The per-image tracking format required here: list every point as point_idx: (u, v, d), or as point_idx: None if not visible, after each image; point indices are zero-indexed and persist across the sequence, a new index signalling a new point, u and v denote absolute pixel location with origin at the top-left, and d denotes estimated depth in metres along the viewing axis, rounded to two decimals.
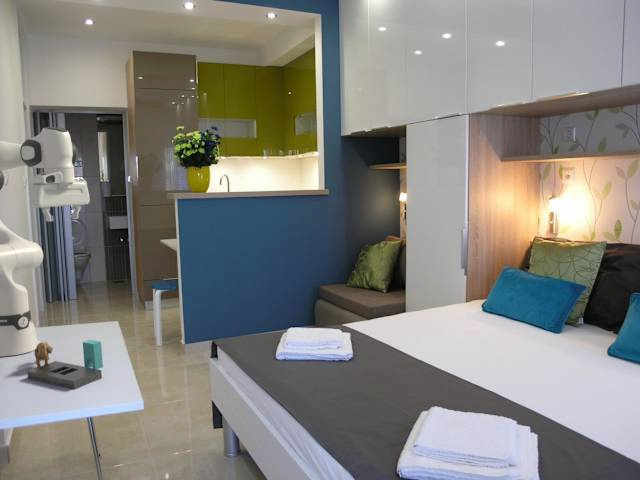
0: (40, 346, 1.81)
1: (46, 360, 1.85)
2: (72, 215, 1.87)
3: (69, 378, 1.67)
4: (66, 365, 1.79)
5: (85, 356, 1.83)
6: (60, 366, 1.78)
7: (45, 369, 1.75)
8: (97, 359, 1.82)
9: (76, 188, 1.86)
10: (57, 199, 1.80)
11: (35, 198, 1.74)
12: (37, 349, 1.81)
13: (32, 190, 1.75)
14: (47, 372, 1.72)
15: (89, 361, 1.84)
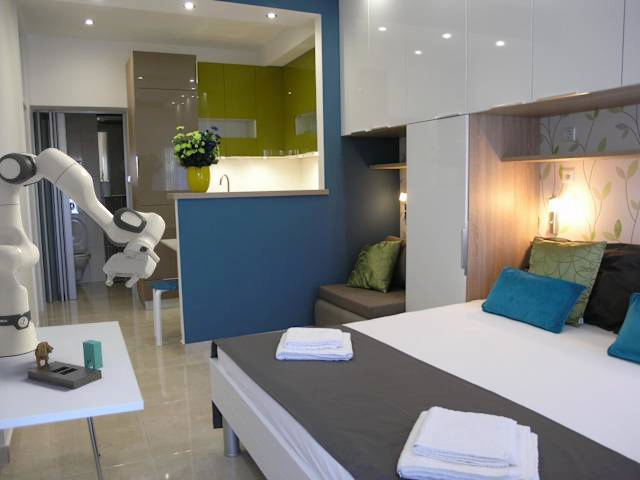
0: (40, 346, 1.81)
1: (46, 360, 1.86)
2: (110, 281, 1.94)
3: (69, 378, 1.67)
4: (66, 365, 1.79)
5: (85, 356, 1.83)
6: (60, 366, 1.78)
7: (45, 369, 1.75)
8: (97, 359, 1.82)
9: None
10: None
11: (151, 271, 1.92)
12: (37, 349, 1.82)
13: (151, 261, 1.92)
14: (47, 372, 1.72)
15: (89, 361, 1.84)
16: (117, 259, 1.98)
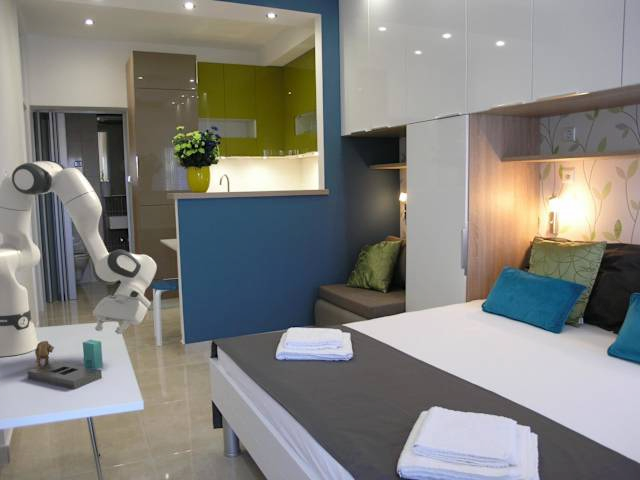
0: (41, 345, 1.82)
1: (47, 359, 1.86)
2: (100, 326, 1.91)
3: (69, 378, 1.67)
4: (66, 365, 1.79)
5: (85, 356, 1.83)
6: (60, 366, 1.78)
7: (45, 369, 1.75)
8: (97, 359, 1.82)
9: None
10: None
11: (142, 317, 1.89)
12: (38, 348, 1.82)
13: (142, 307, 1.89)
14: (47, 372, 1.72)
15: (89, 361, 1.84)
16: (107, 303, 1.95)
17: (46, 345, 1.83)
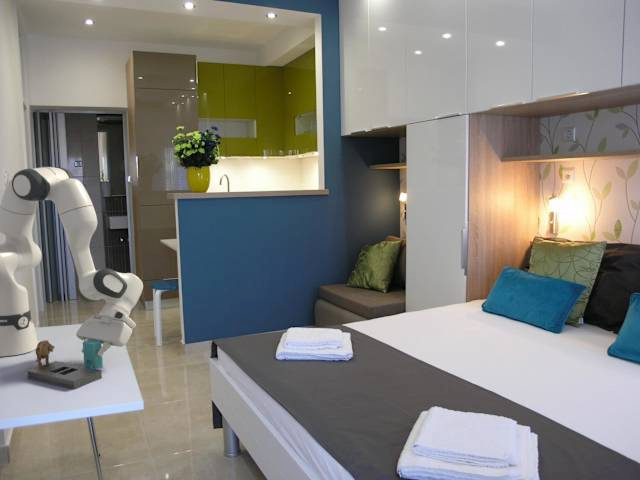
0: (42, 344, 1.83)
1: (47, 358, 1.87)
2: None
3: (69, 378, 1.67)
4: (66, 365, 1.79)
5: (85, 356, 1.83)
6: (60, 366, 1.78)
7: (45, 369, 1.75)
8: (97, 359, 1.82)
9: None
10: None
11: (126, 339, 1.83)
12: (38, 347, 1.83)
13: (126, 329, 1.83)
14: (47, 372, 1.72)
15: (89, 361, 1.84)
16: (91, 324, 1.89)
17: (47, 344, 1.83)
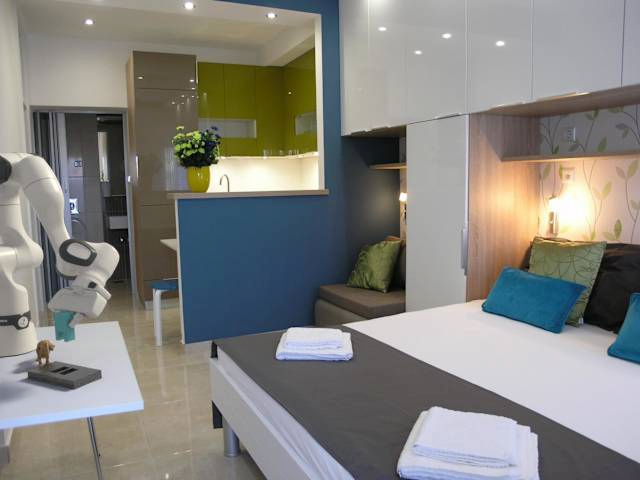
0: (42, 344, 1.84)
1: (47, 358, 1.88)
2: None
3: (69, 378, 1.67)
4: (66, 365, 1.79)
5: (56, 328, 1.73)
6: (60, 366, 1.78)
7: (45, 369, 1.75)
8: (69, 331, 1.72)
9: None
10: None
11: (100, 310, 1.73)
12: (39, 347, 1.84)
13: (100, 299, 1.73)
14: (47, 372, 1.72)
15: (61, 333, 1.74)
16: (64, 295, 1.79)
17: (47, 343, 1.84)
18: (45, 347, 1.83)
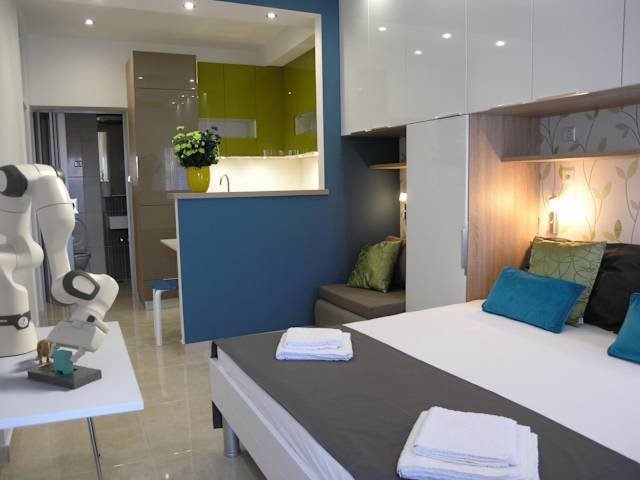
0: (43, 343, 1.85)
1: (48, 357, 1.89)
2: None
3: (69, 378, 1.67)
4: None
5: (55, 366, 1.73)
6: None
7: (45, 369, 1.75)
8: (68, 370, 1.72)
9: None
10: None
11: (99, 344, 1.73)
12: (40, 346, 1.85)
13: (99, 333, 1.73)
14: (47, 372, 1.72)
15: None
16: (63, 328, 1.79)
17: (48, 342, 1.85)
18: (46, 346, 1.85)
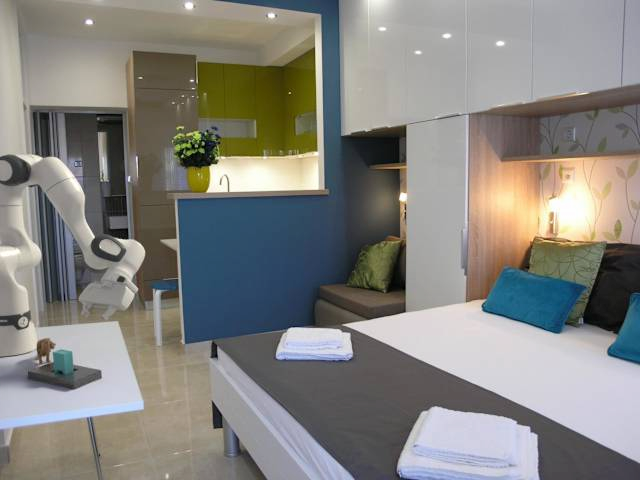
0: (43, 342, 1.85)
1: (48, 356, 1.89)
2: (86, 312, 1.86)
3: (69, 378, 1.67)
4: None
5: (55, 366, 1.73)
6: None
7: (45, 369, 1.75)
8: (68, 370, 1.72)
9: None
10: None
11: (129, 303, 1.83)
12: (40, 345, 1.85)
13: (129, 292, 1.84)
14: (47, 372, 1.72)
15: None
16: (94, 288, 1.90)
17: (48, 342, 1.86)
18: (46, 345, 1.85)
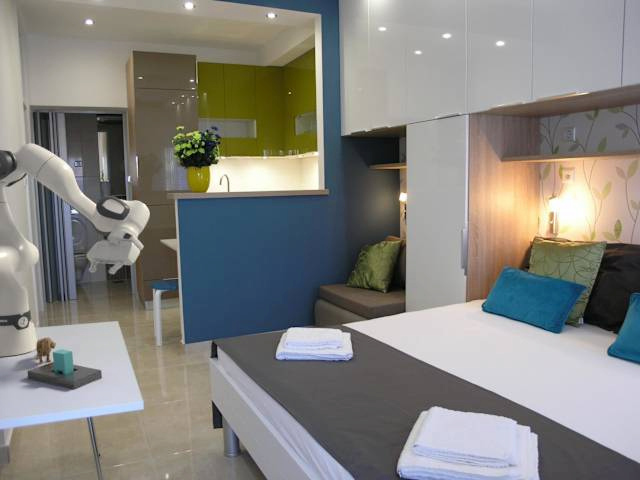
0: (44, 341, 1.86)
1: (48, 355, 1.90)
2: (94, 268, 1.94)
3: (69, 378, 1.67)
4: None
5: (55, 366, 1.73)
6: None
7: (45, 369, 1.75)
8: (68, 370, 1.72)
9: None
10: None
11: (135, 258, 1.92)
12: (41, 345, 1.86)
13: (135, 248, 1.93)
14: (47, 372, 1.72)
15: None
16: (101, 246, 1.99)
17: (49, 341, 1.87)
18: (47, 345, 1.86)
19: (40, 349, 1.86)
